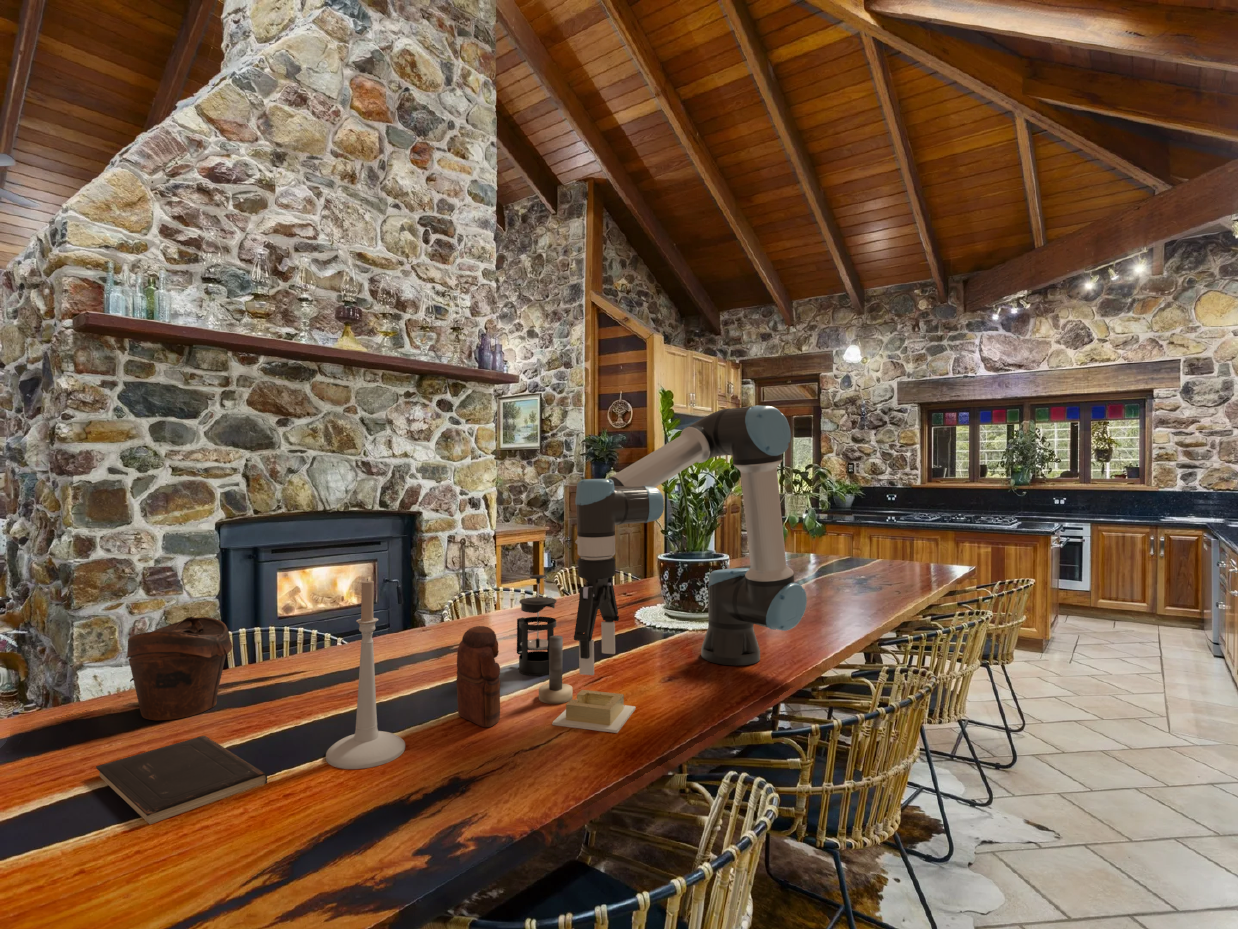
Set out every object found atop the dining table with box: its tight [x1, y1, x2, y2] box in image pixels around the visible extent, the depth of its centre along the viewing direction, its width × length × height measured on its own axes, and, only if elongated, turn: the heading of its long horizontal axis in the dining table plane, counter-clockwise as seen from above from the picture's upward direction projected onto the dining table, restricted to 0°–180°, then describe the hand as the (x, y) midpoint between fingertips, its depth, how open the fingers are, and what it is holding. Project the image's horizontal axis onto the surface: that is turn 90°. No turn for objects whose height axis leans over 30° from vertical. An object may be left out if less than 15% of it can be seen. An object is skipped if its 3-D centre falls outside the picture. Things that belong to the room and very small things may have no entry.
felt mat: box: [552, 704, 636, 734], centre depth 132 cm, size 13×13×1 cm
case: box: [126, 616, 233, 722], centre depth 135 cm, size 18×20×18 cm
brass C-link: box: [565, 689, 625, 725], centre depth 132 cm, size 9×9×3 cm
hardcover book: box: [95, 735, 268, 825], centre depth 105 cm, size 16×23×2 cm
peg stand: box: [538, 635, 574, 705], centre depth 143 cm, size 7×7×13 cm
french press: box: [516, 574, 557, 677], centre depth 163 cm, size 12×9×23 cm
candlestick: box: [325, 578, 406, 770], centre depth 115 cm, size 13×13×30 cm
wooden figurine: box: [456, 625, 501, 728], centre depth 131 cm, size 12×6×18 cm, turn 46°
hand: (598, 663), depth 133 cm, fingers open, 13 cm apart
